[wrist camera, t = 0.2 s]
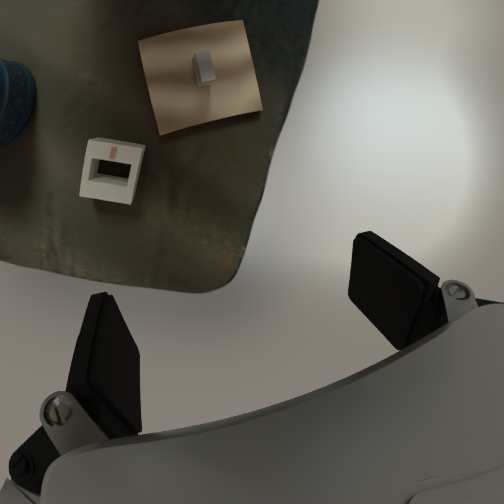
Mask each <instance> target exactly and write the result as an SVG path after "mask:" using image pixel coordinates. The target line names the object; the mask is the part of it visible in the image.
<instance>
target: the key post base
mask: <svg viewBox="0 0 504 504" xmlns="http://www.w3.org/2000/svg"><path fill="white" fill-rule="evenodd" d="M138 45H139V50H140V55H141V59H142V64H143V69H144V73H145V77H146V82H147V86H148V90H149V94H150V99H151V103H152V107H153V111H154V115H155V118H156V122H157V126H158V130H159V134H160V136H161V135H164V134H167V133H170V132H173V131H177V130H180V129H183V128H187V127H190V126H194V125H198V124H202V123H205V122H209V121H213V120H217V119H222V118H226V117H230V116H235V115H239V114H244V113H249V112H254V111H260V110H263V108H262V103H261V99H260V94H259V89H258V84H257V80H256V75H255V71H254V66H253V62H252V57H251V53H250V49H249V44H248V40H247V36H246V32H245V28H244V24H243V20H237V21H228V22H221V23H214V24H207V25H201V26H196V27H191V28H186V29H181V30H177V31H172V32H168V33H164V34H160V35H157V36H153V37H149V38H146V39H143V40H139V41H138Z"/></svg>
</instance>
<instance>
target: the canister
mask: <svg viewBox="0 0 504 504" xmlns="http://www.w3.org/2000/svg"><path fill="white" fill-rule="evenodd" d="M35 92H36V90H35V81H34V78H33V76H32V74H31V72H30V71H29V70H28V69H27V68H26V67H25V66H24V65H23V64H21V63H19V62H15V61H7V60H3V59H1V58H0V147H1V146H3V145H5V144H7V143H8V142H10V141H11V140H13V139H14V138H15V137H16V136H17V135H18V134H19V133H20V132H21V131H22V129H23V128H24V126H25V125H26V123H27V121H28V119H29V117H30V115H31V112H32V109H33V106H34V101H35Z"/></svg>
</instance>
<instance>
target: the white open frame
mask: <svg viewBox="0 0 504 504" xmlns="http://www.w3.org/2000/svg"><path fill="white" fill-rule="evenodd" d="M145 148H146V145H141V144H136V143H130V142H124V141H118V140H112V139H106V138H99V137H98V138H94V139H90V140H88V145H87V150H86V155H85V160H84V166H83V173H82V179H81V186H80V194H79V196H82V197H88V198H94V199H100V200H106V201H112V202H118V203H124V204H130V205H131V203H132V201H133V198H134V196H135V193H136V188H137V183H138V178H139V173H140V169H141V164H142V160H143V156H144V152H145ZM100 159H101V160H108V161H114V162H120V163H126V164H131V169H130V174H129V178H124V177H118V176H112V175H106V174H100V173H97V172H98V167H99V161H100Z"/></svg>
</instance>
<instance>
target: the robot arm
mask: <svg viewBox="0 0 504 504" xmlns="http://www.w3.org/2000/svg"><path fill="white" fill-rule="evenodd" d="M439 280H440V278H439V277H438V276H436V275H435V274H434V273H432V272H431V271H429V270H428V269H427V268H425V267H424V266H423V265H421V264H420V263H418V262H417V261H415V260H414V259H413V258H411V257H410V256H408V255H407V254H405V253H404V252H402V251H401V250H399V249H398V248H396V247H395V246H393V245H392V244H390V243H389V242H387V241H386V240H384V239H383V238H381V237H380V236H378V235H376V234H375V233H373V232H372V231H367V232H363V233H359V234H357V236H356V238H355V239H354V241H353V250H352V261H351V271H350V280H349V289H348V296H349V298H350V300H351V301H352V302H353V303H354V304H355V305H356V306H357V307H358V308H359V310H360V311H361V312H362V313H363V314H364V315H365V316H366V317H367V318H368V319H369V320H370V321H371V322H372V323H373V324H374V326H375V327H376V328H377V329H378V330H379V331H380V332H381V333H382V334H383V335H384V336H385V337H386V339H387V340H388V341H389V342H390V343H391V344H392V345H393V346H394V347H395V348H396V349H397V350H400V351H399V352H397V353H395V354H393V355H391V356H389V357H388V358H386V359H384V360H382V361H380V362H378V363H376V364H374V365H372V366H370V367H368V368H365V369H363V370H361V371H359V372H357V373H355V374H353V375H350V376H348V377H346V378H344V379H341V380H339V381H337V382H334V383H332V384H329V385H327V386H325V387H322V388H320V389H317V390H314V391H312V392H309V393H307V394H304V395H301V396H298V397H296V398H293V399H290V400H287V401H284V402H281V403H278V404H275V405H272V406H269V407H266V408H263V409H259V410H256V411H252V412H249V413H245V414H242V415H238V416H234V417H230V418H226V419H223V420H218V421H214V422H209V423H205V424H200V425H195V426H190V427H185V428H180V429H175V430H169V431H163V432H156V433H149V434H143V435H138V433H140V432H141V431H142V421H141V402H140V354H139V350H138V347H137V345H136V343H135V342H134V340H133V337H132V336H131V334H130V332H129V329H128V327H127V325H126V323H125V321H124V319H123V317H122V314H121V312H120V310H119V308H118V306H117V303H116V301H115V299H114V297H113V295H108V293H107V292H103V293H98V294H93V295H91V297H90V300H89V303H88V306H87V309H86V313H85V316H84V320H83V323H82V327H81V330H80V334H79V336H78V338H77V342H76V346H75V350H74V354H73V359H72V362H71V367H70V372H69V376H68V381H67V387H66V391H58V392H55V393H53V394H51V395H49V396H48V397H47V398H46V399H45V400H44V402H43V404H42V405H41V408H40V420H41V423H42V426H41V427H40V428H39V429H38V430H37V431H36V432H35V433H34V434H33V435H31V436H30V437H29V438H28V439H27V440H26V441H25V442H24V443H23V444H22V445H21V446H20V447H19V448H18V449H17V450H16V451H15V452H14V453H13V454H12V456H11V458H10V461H9V474H10V476H11V480H9V479H8V478H7V479H6V481H5V483H4V485H3V487H2V489H1V491H0V504H504V303H500V302H495V301H489V300H483V299H477V298H475V296H474V293H473V291H472V290H471V288H470V287H469V286H467V285H466V284H465V283H463V282H460V281H457V280H448V281H445V282H443V284H442V286H441V288H439V287H438V283H439Z"/></svg>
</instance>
